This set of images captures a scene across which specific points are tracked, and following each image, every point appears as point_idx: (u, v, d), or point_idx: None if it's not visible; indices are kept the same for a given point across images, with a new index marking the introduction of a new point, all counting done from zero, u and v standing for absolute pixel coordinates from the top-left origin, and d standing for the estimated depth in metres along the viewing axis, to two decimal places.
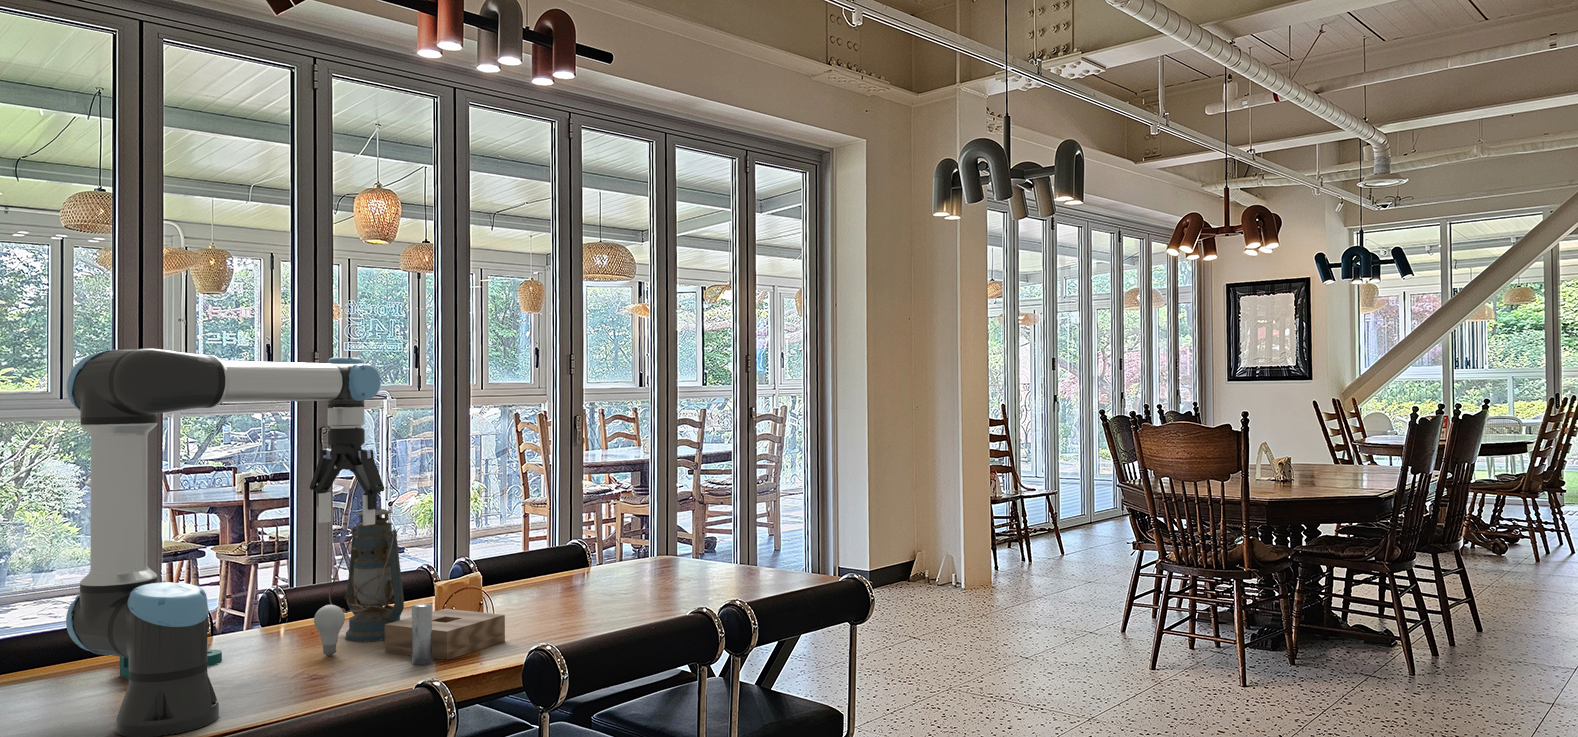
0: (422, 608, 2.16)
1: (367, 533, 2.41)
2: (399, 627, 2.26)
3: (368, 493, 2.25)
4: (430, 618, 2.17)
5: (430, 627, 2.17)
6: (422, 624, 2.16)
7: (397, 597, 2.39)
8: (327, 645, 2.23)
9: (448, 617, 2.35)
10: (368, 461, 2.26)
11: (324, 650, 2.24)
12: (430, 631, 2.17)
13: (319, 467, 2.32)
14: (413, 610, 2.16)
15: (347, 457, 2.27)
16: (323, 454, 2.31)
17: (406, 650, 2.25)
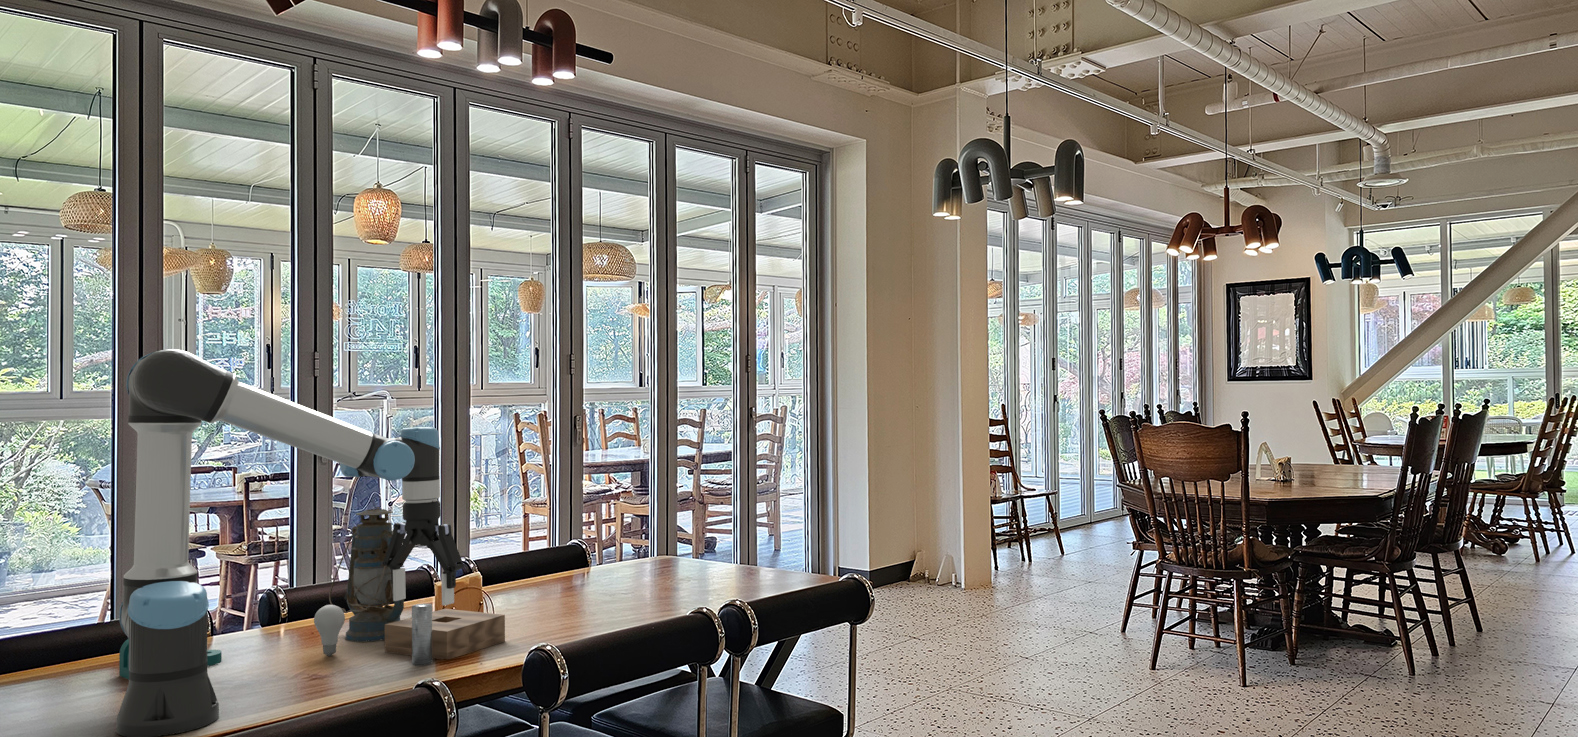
0: (422, 608, 2.16)
1: (367, 533, 2.41)
2: (399, 627, 2.26)
3: (447, 571, 2.13)
4: (430, 618, 2.17)
5: (430, 627, 2.17)
6: (422, 624, 2.16)
7: None
8: (327, 645, 2.23)
9: (448, 617, 2.35)
10: (446, 537, 2.15)
11: (324, 650, 2.24)
12: (430, 631, 2.17)
13: (393, 542, 2.20)
14: (413, 610, 2.16)
15: (424, 533, 2.16)
16: (397, 528, 2.20)
17: (406, 650, 2.25)
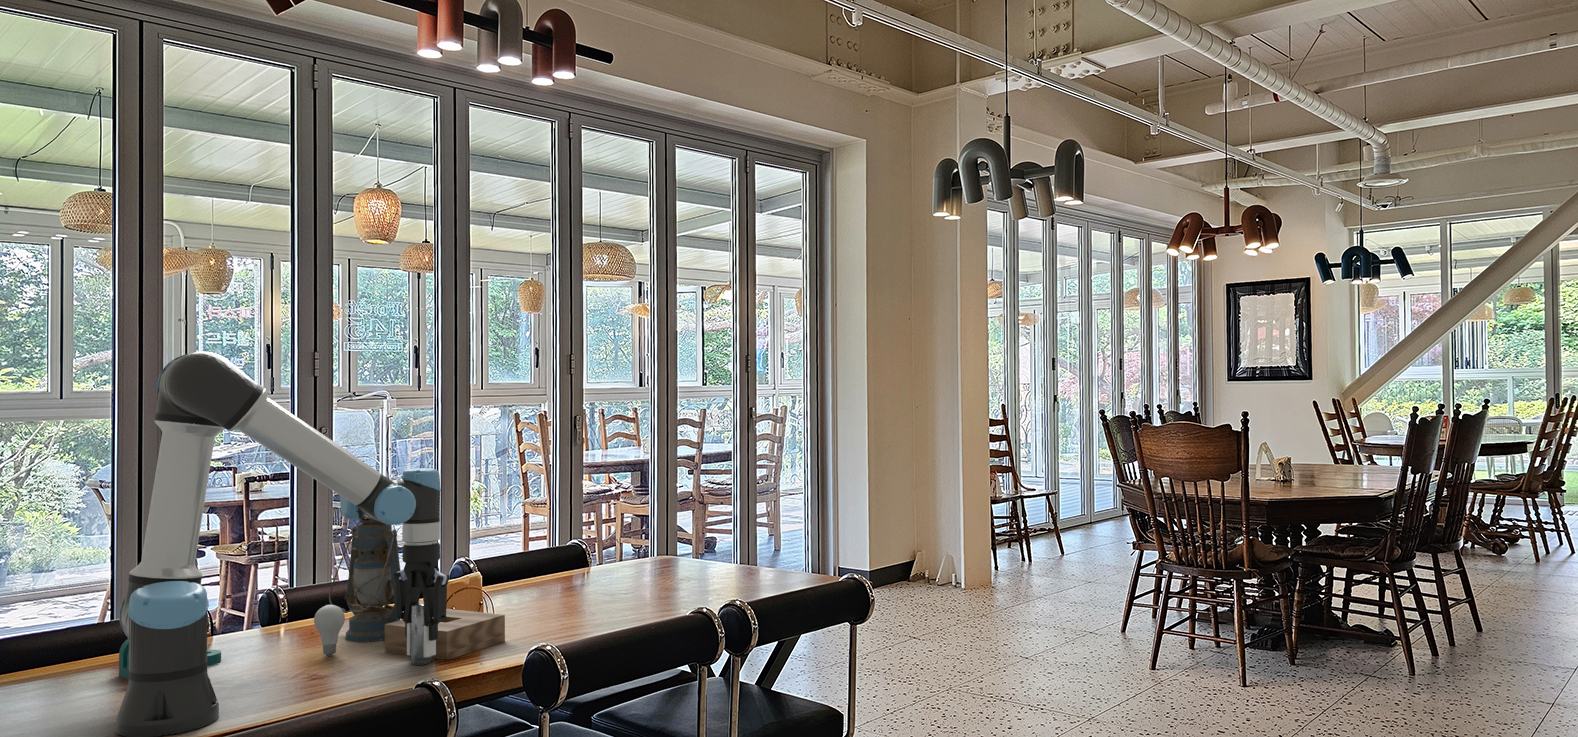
0: (421, 607, 2.16)
1: (367, 533, 2.41)
2: (399, 627, 2.26)
3: (429, 625, 2.15)
4: None
5: None
6: (422, 624, 2.16)
7: None
8: (327, 645, 2.23)
9: (448, 617, 2.35)
10: (441, 589, 2.15)
11: (324, 650, 2.24)
12: None
13: (399, 591, 2.19)
14: (412, 609, 2.16)
15: (422, 577, 2.16)
16: (398, 576, 2.19)
17: (406, 650, 2.25)
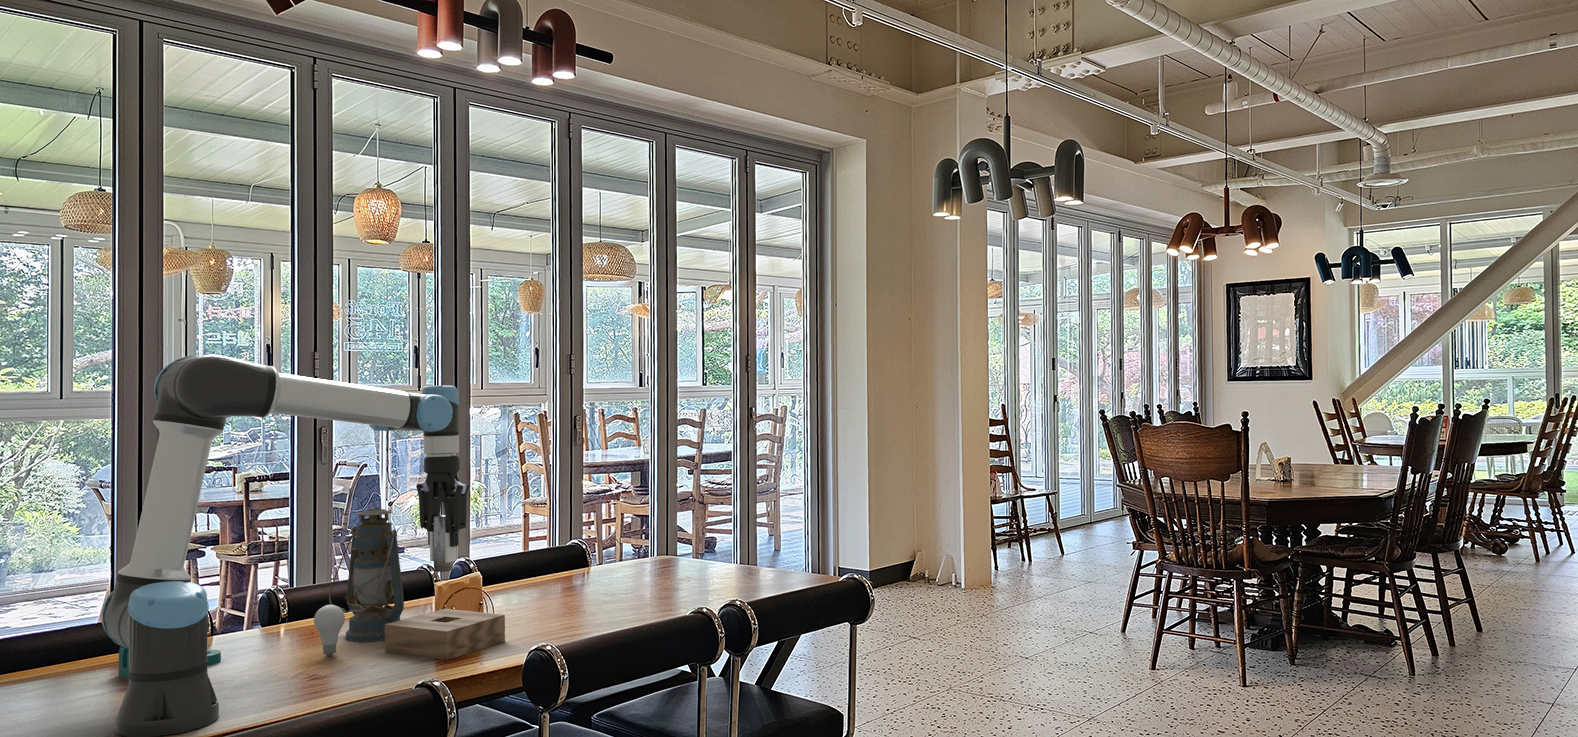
0: (443, 518, 2.28)
1: (367, 533, 2.41)
2: (399, 627, 2.26)
3: (450, 531, 2.27)
4: None
5: None
6: (443, 533, 2.28)
7: (397, 597, 2.39)
8: (327, 645, 2.23)
9: (448, 617, 2.35)
10: (460, 497, 2.27)
11: (324, 650, 2.24)
12: None
13: (421, 502, 2.31)
14: (434, 520, 2.28)
15: (443, 487, 2.28)
16: (420, 488, 2.31)
17: (406, 650, 2.25)
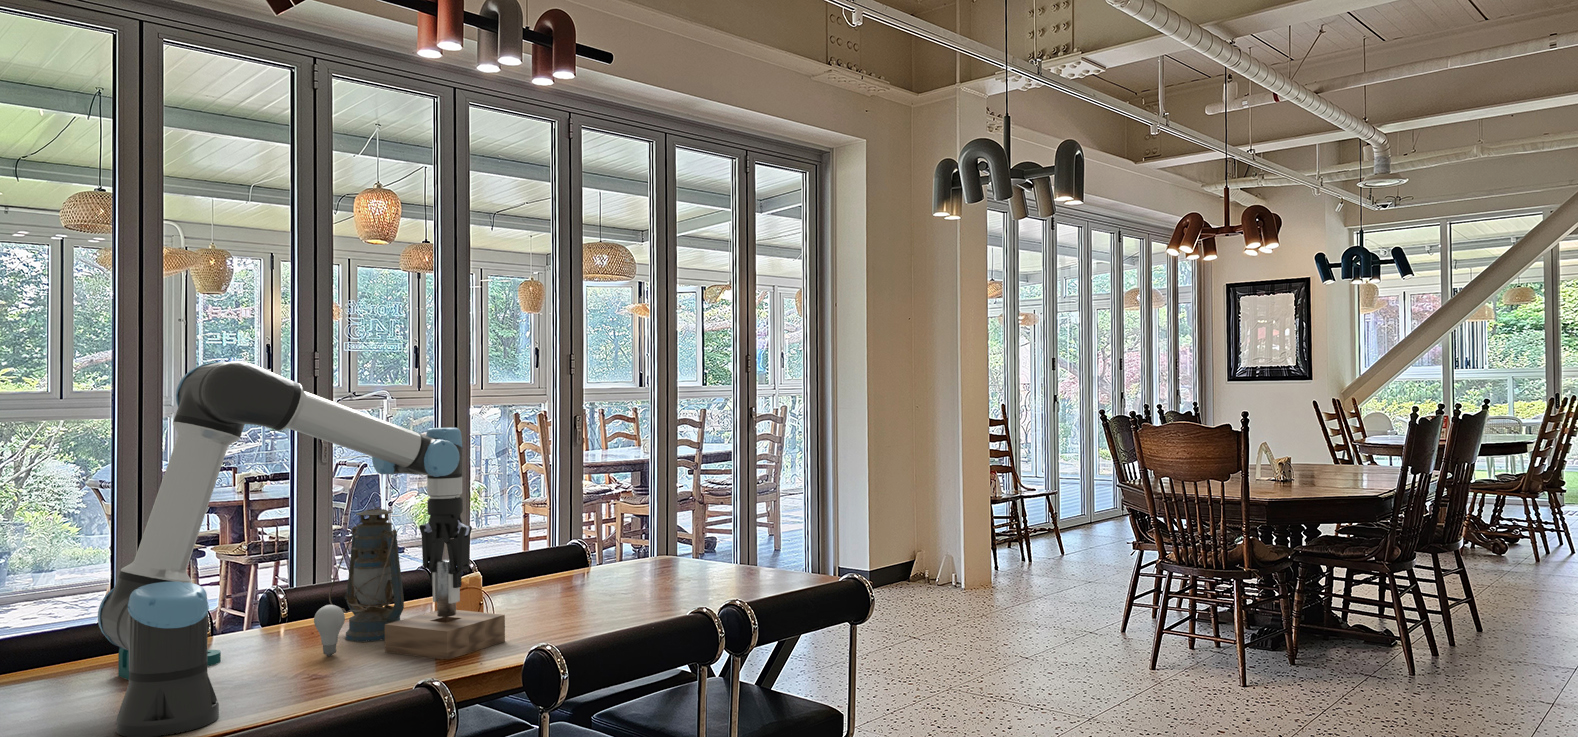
0: (446, 563, 2.31)
1: (367, 533, 2.41)
2: (399, 627, 2.26)
3: (453, 573, 2.29)
4: None
5: None
6: (446, 578, 2.30)
7: (397, 597, 2.39)
8: (327, 645, 2.23)
9: (448, 617, 2.35)
10: (464, 539, 2.29)
11: (324, 650, 2.24)
12: None
13: (424, 543, 2.33)
14: (438, 565, 2.31)
15: (446, 529, 2.30)
16: (423, 529, 2.34)
17: (406, 650, 2.25)
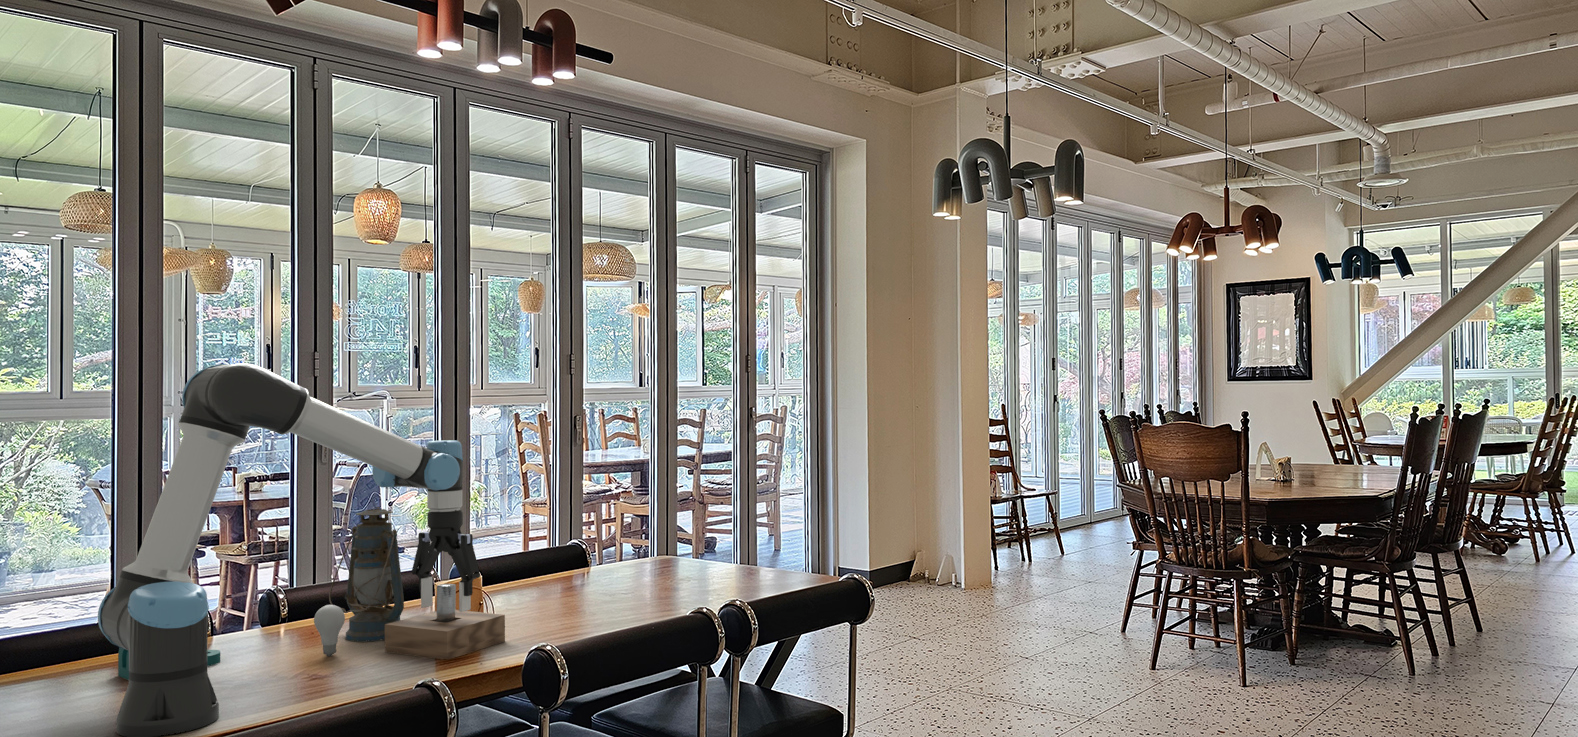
0: (447, 588, 2.30)
1: (367, 533, 2.41)
2: (399, 627, 2.26)
3: (465, 580, 2.28)
4: (454, 597, 2.32)
5: (454, 606, 2.32)
6: (446, 603, 2.30)
7: (397, 597, 2.39)
8: (327, 645, 2.23)
9: None
10: (467, 547, 2.29)
11: (324, 650, 2.24)
12: (453, 609, 2.32)
13: (419, 551, 2.34)
14: (438, 589, 2.31)
15: (447, 540, 2.30)
16: (422, 537, 2.34)
17: (406, 650, 2.25)
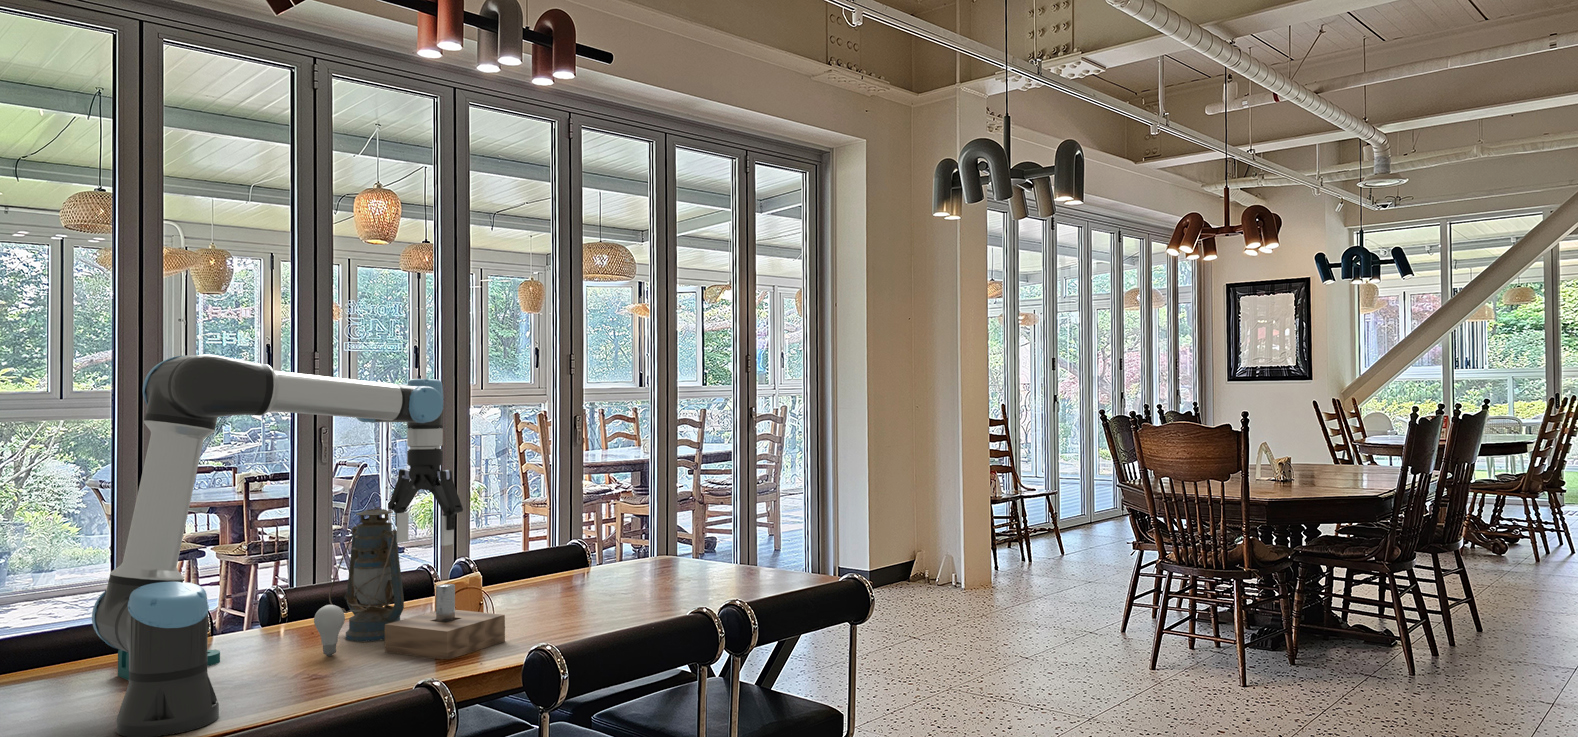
0: (446, 588, 2.30)
1: (367, 533, 2.41)
2: (399, 627, 2.26)
3: (447, 514, 2.27)
4: (453, 597, 2.32)
5: (453, 606, 2.32)
6: (446, 603, 2.30)
7: (397, 597, 2.39)
8: (327, 645, 2.23)
9: None
10: (447, 482, 2.29)
11: (324, 650, 2.24)
12: (453, 609, 2.32)
13: (397, 487, 2.34)
14: (437, 590, 2.31)
15: (426, 478, 2.30)
16: (402, 474, 2.34)
17: (406, 650, 2.25)
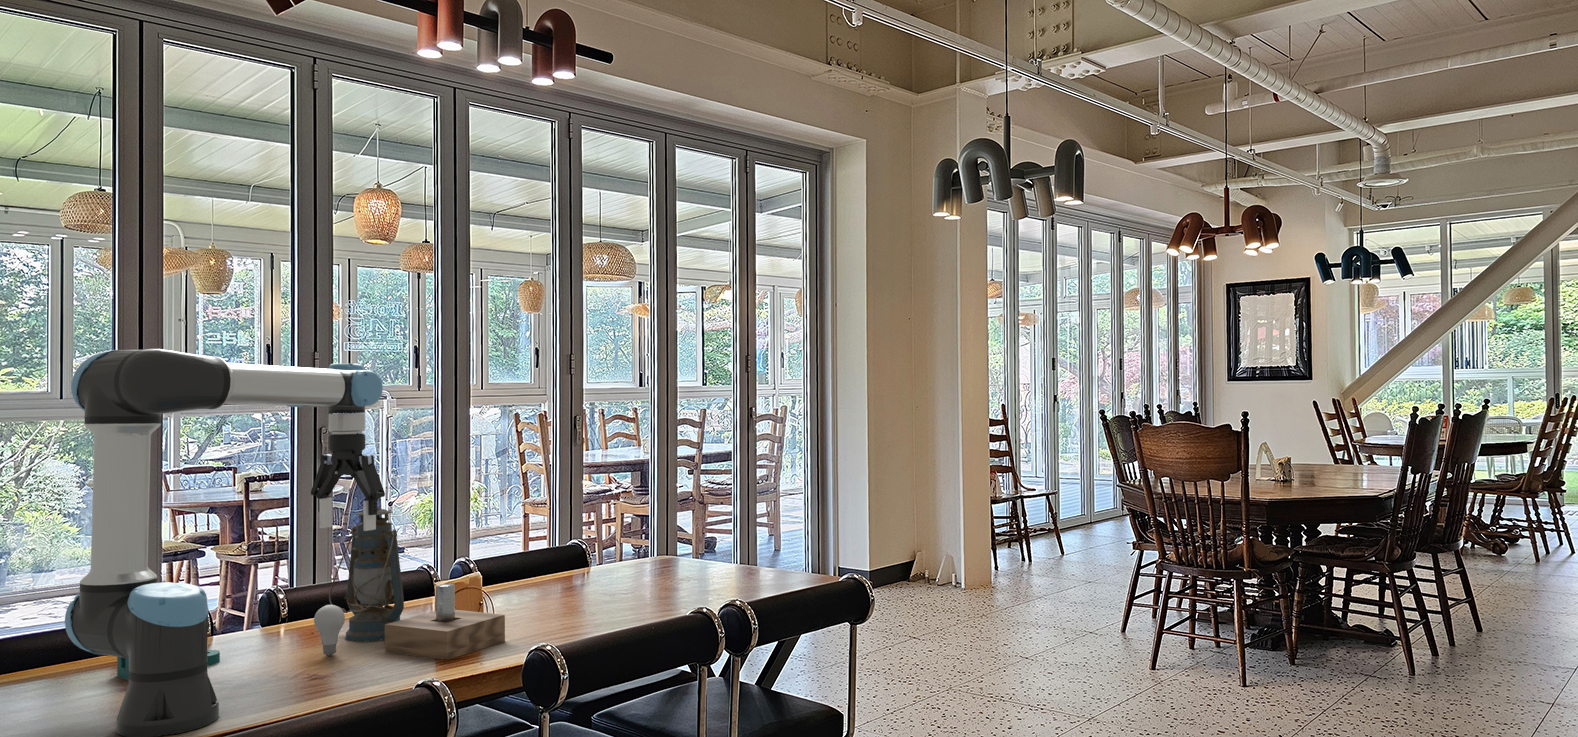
0: (446, 588, 2.30)
1: (367, 533, 2.41)
2: (399, 627, 2.26)
3: (369, 498, 2.26)
4: (453, 597, 2.32)
5: (453, 606, 2.32)
6: (446, 603, 2.30)
7: (397, 597, 2.39)
8: (327, 645, 2.23)
9: None
10: (369, 467, 2.27)
11: (324, 650, 2.24)
12: (453, 609, 2.32)
13: (320, 472, 2.33)
14: (437, 589, 2.31)
15: (348, 463, 2.28)
16: (324, 460, 2.32)
17: (406, 650, 2.25)
